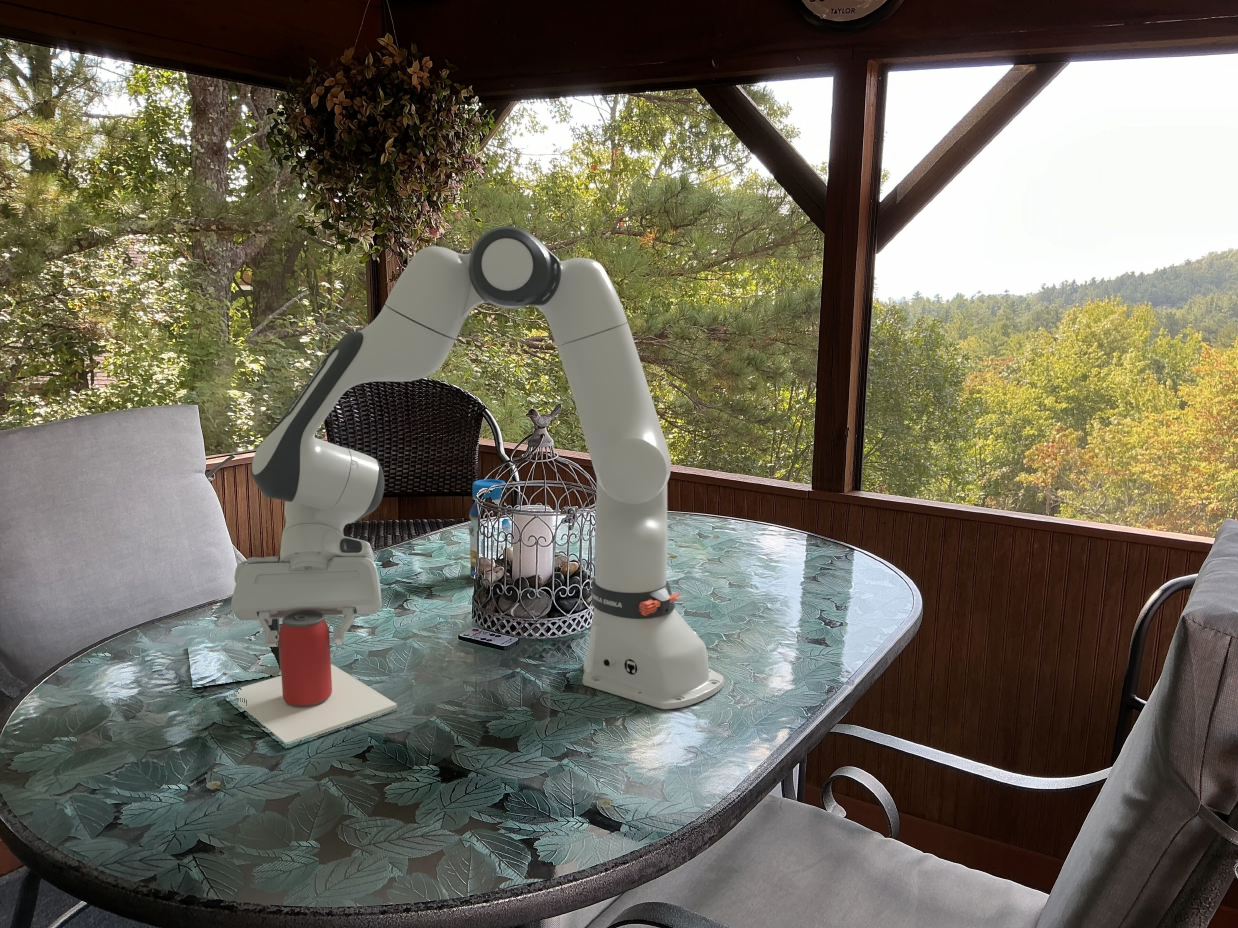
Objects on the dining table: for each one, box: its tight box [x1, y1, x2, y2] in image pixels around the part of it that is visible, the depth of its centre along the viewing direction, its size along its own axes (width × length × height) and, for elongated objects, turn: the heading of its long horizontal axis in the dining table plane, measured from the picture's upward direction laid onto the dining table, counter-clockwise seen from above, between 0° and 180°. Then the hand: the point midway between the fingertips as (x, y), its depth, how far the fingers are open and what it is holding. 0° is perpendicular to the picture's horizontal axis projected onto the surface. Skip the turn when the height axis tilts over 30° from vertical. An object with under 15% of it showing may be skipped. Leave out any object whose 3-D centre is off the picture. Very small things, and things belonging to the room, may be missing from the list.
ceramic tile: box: [226, 663, 398, 745], centre depth 126 cm, size 20×16×1 cm
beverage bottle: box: [468, 478, 512, 579], centre depth 183 cm, size 8×8×20 cm
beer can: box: [279, 611, 332, 707], centre depth 125 cm, size 7×7×12 cm
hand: (305, 643), depth 124 cm, fingers open, 8 cm apart
